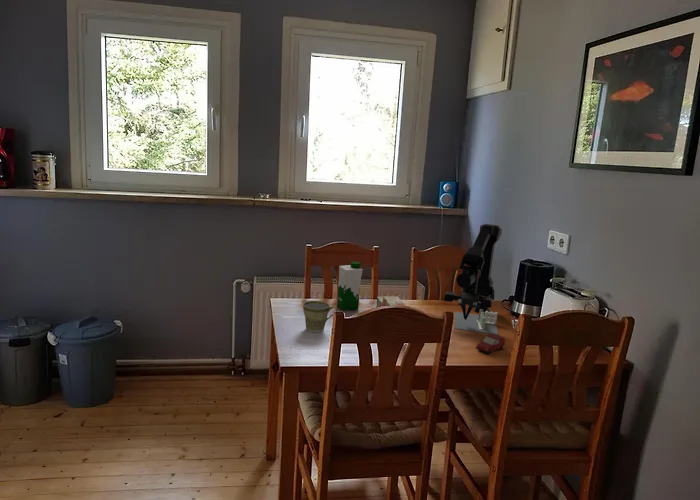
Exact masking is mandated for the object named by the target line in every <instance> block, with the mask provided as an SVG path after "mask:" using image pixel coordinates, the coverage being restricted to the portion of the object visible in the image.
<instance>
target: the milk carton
mask: <svg viewBox="0 0 700 500" xmlns="http://www.w3.org/2000/svg"><path fill="white" fill-rule="evenodd" d="M363 270H364V269H363V268H362V267H361V262H360V261H350V264H348V265H347V264H345V265H339V266H338V285H337V286H338V287H337V298H336V299H337V300H336V306H337V307H338V308H340V309H341V310H342V311H356V310H358V311H359V306H360V305H359V304H360V294H361V293H360V292H361V282H362V281H361V279H362V275H363V272H364V271H363Z"/></svg>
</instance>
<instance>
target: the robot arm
mask: <svg viewBox="0 0 700 500" xmlns="http://www.w3.org/2000/svg"><path fill="white" fill-rule="evenodd" d="M502 231H503V229H502V228H501V227H500V225H496V224H489V223H485V224H481V225H480V227H479V232H478V234H477V236H476V238H475V241H474V243H473V245H472V246H471V247H469V248H468V249H467V250H466V252H465V253H464V254H463V256H462V258H461V262H460V265H459V270H462V273H459V274H458V275H457V277H456V284H457V285H458V287H459V288H461V293H460V295H459V294H456V291H454V292H453V291H446V292H445V293H444V299H443V301H444V302H449V303H450V302H451V303H452V302H454V301H455V300H456V301H458V303H457V305H458V306H460V307H461V311H462V313H463V315H464V319H465V320H466V319H467V317H468V315H469V314H471V311H472V310H473V309H474V312H476V313H477V312H478V313H479V312H480V309H482V310H484V311H483V312H484V314H485V312H486V311H488V312H489V313H490V308H492V303H493V300H495V297H496V296H495V295H496V292H495V288H494V282H493V279H492V277H491V274H492V266H493V260H494V253H495V252H494V251H495V246H496V244H497V243H498V241H500V237H502ZM467 305H468V306H467Z"/></svg>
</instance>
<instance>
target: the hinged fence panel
mask: <svg viewBox="0 0 700 500" xmlns="http://www.w3.org/2000/svg"><path fill="white" fill-rule="evenodd" d="M485 320H486V317H485V313H484V312H481V313H480V320H479V323H480V325H481V328H484V327H485Z"/></svg>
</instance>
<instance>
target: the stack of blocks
mask: <svg viewBox="0 0 700 500" xmlns="http://www.w3.org/2000/svg"><path fill="white" fill-rule="evenodd" d="M375 303H376V304H375V305H376V307H375V308H377V307H381V306H392V305H401V306H406V304H405V303H404V301H403V300H402V299H400V297H399V296H395V295H394V296H384V295H383V296H376V302H375Z"/></svg>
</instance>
